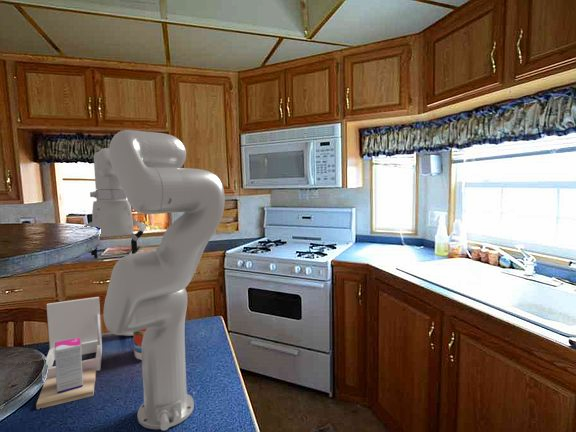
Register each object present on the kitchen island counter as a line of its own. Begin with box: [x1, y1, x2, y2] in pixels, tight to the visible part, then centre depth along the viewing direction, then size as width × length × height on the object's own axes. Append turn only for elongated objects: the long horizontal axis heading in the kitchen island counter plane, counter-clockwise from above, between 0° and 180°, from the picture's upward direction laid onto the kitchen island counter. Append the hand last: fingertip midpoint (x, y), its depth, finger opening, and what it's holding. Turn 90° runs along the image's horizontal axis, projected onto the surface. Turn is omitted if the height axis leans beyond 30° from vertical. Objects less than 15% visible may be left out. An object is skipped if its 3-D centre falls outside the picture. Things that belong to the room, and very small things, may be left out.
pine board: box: [35, 369, 97, 410], centre depth 91 cm, size 12×12×1 cm
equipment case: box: [45, 296, 103, 379], centre depth 103 cm, size 16×14×18 cm
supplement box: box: [54, 338, 83, 394], centre depth 91 cm, size 6×6×12 cm
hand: (115, 255), depth 99 cm, fingers open, 9 cm apart
